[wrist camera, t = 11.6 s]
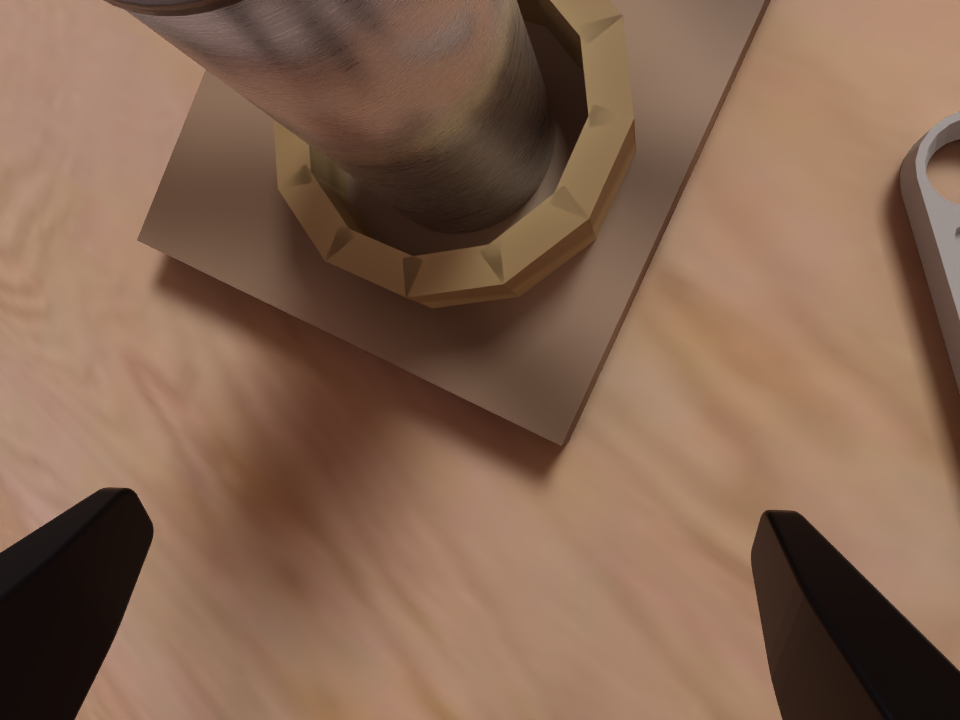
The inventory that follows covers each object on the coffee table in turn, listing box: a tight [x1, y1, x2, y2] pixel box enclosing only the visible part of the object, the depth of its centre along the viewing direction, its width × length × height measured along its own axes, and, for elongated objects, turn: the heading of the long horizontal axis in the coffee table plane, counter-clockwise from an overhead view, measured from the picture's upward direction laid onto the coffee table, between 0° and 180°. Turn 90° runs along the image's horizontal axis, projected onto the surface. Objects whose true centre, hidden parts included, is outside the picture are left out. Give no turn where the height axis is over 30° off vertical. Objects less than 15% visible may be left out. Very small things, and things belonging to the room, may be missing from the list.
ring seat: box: [137, 0, 770, 446], centre depth 17 cm, size 16×15×4 cm
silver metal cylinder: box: [104, 0, 555, 234], centre depth 11 cm, size 5×5×12 cm
